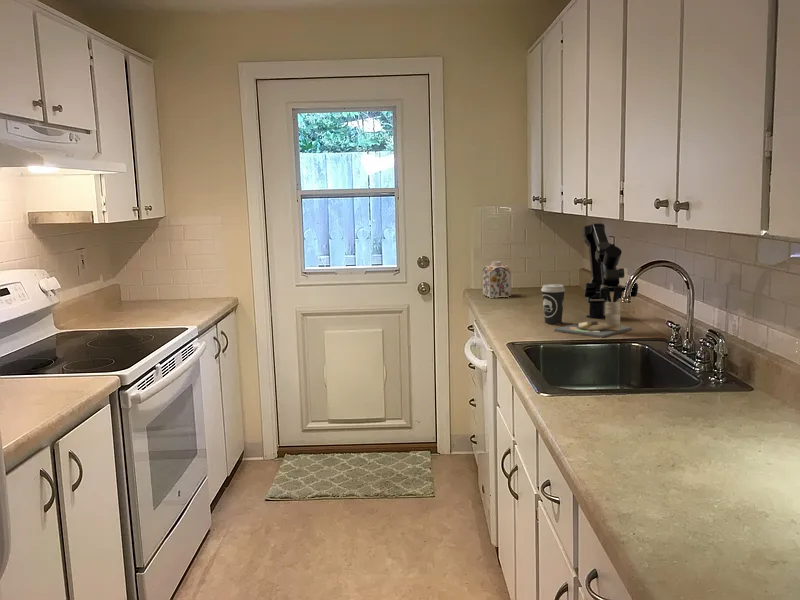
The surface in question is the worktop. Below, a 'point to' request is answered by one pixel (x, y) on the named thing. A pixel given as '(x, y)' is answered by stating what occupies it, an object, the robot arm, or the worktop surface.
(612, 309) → the beige boot
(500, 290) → the decorative jar
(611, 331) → the board
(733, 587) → the worktop surface
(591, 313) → the robot arm
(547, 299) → the coffee cup
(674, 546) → the worktop surface
